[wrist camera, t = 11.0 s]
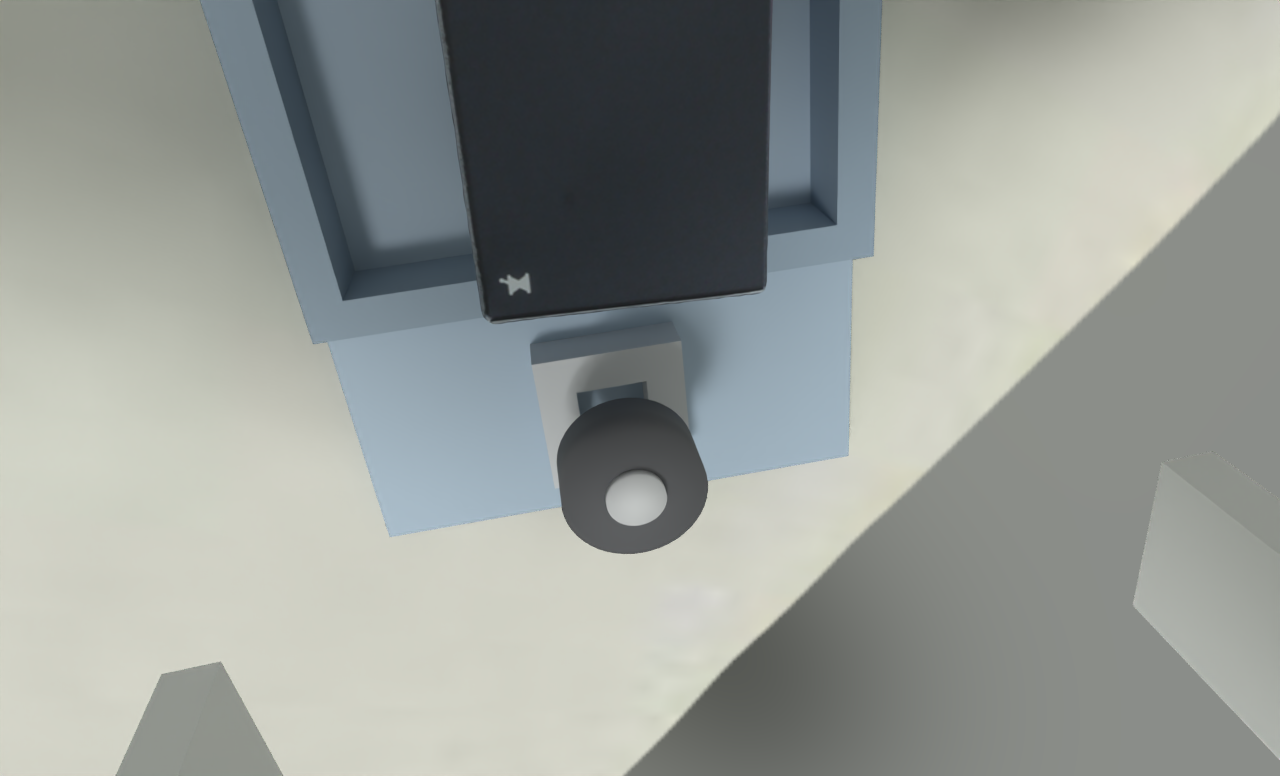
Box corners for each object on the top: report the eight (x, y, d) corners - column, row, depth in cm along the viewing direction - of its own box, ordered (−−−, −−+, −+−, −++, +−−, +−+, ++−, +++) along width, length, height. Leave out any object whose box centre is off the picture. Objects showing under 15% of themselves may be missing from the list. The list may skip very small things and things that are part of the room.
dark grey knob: (564, 496, 29) (573, 572, 25) (543, 385, 27) (550, 451, 23) (689, 474, 29) (714, 546, 26) (678, 363, 27) (705, 424, 24)
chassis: (392, 520, 33) (382, 581, 30) (120, -346, 20) (53, -396, 17) (839, 442, 34) (873, 492, 31) (851, -411, 21) (911, -468, 18)
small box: (684, 180, 27) (782, 306, 18) (480, 198, 26) (472, 339, 17) (675, -225, 22) (805, -339, 13) (420, -215, 21) (365, -329, 12)
